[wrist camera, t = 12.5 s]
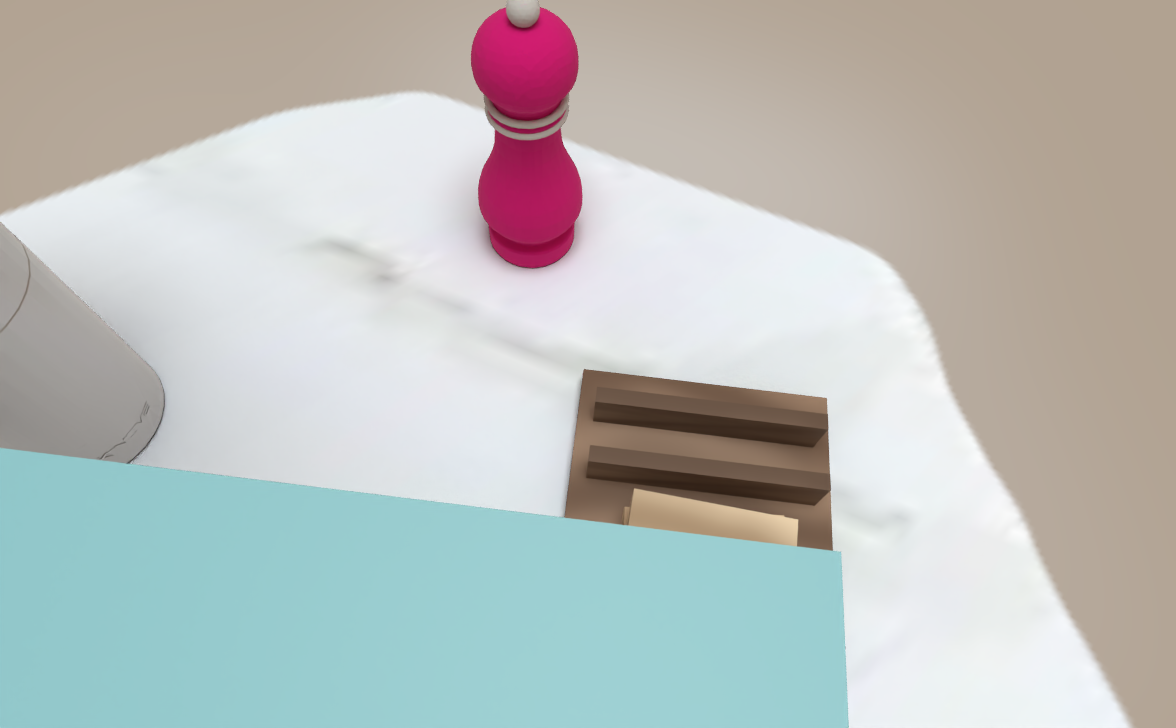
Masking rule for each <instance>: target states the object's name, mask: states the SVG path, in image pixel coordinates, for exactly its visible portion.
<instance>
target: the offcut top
mask: <svg viewBox="0 0 1176 728" xmlns="http://www.w3.org/2000/svg"><path fill="white" fill-rule="evenodd" d="M627 525H628V526H636V527H644V528H652V529H660V530H668V531H676V532H684V533H692V534H700V535H708V536H716V537H725V538H733V539H741V540H749V541H757V542H765V543H773V544H781V545H789V546H797V535H798V519H793V518H787V517H782V516H777V515H771V514H766V513H761V512H756V511H750V510H745V509H740V508H735V507H729V506H724V505H719V504H714V503H708V502H703V501H698V500H692V499H687V498H682V497H677V496H671V495H666V494H661V493H656V492H650V491H645V490H640V489H635V488H634V491H633V494H632V498H631V505H630V511H629V517H628V523H627Z"/></svg>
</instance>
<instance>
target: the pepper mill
mask: <svg viewBox="0 0 1176 728" xmlns="http://www.w3.org/2000/svg"><path fill="white" fill-rule="evenodd" d="M471 66H472V71H473V75H474V79H475V81H476V83H477V85H478V87H479V89H480V90H481V91H482V92H483V94H484V102H485V113H486V116H487V119H488V121H489V123H490V124H491V125H492V126H493V127H494V129H495V143H494V147H493V150H492V152H491V154H490V156H489V158H488V160H487V161H486V163H485V165H484V167H483V170H482V173H481V176H480V180H479V187H478V198H479V206H480V210H481V213H482V215H483V217H484V219H485V220H486V222H487V223H488V224H489V232H490V240H491V243H492V245H493V247H494V249H495V251H496V252H497V253H498V254H499V255H500V256H501V257H502V258H504V259H505V260H506V261H508V262H510V263H512V264H515V265H517V266H521V267H529V268H536V267H543V266H546V265H549V264H552V263H554V262H556V261H557V260H559V259H560V258H561V257H563V256H564V255H565V254H566V252H567V251H568V250H569V249H570V247H571V245H572V242H573V238H574V222H575V221H576V219H577V217H578V216H579V213H580V210H581V206H582V186H581V179H580V177H579V174H578V171H577V168H576V166H575V164H574V162H573V161H572V159H571V157H570V156H569V154H568V153H567V151H566V149H565V147H564V145H563V141H562V136H561V127H562V125H563V124H564V123H565V121H566V119H567V116H568V112H569V105H568V102H569V91H570V90H571V89H572V88H573V85H574V83H575V81H576V77H577V73H578V51H577V45H576V43H575V40H574V37H573V35H572V33H571V31H570V29H569V28H568V26H567V25H566V24H565V23H564V22H563V21H562V20H561V19H560V18H559V17H558V16H556V15H555V14H553V13H552V12H550V11H548V10H547V9H544V8H541V7H540V6H539V2H538V0H508V1H507V4H506V8H503V9H500V10H498V11H497V12H495V13H494V14H492V15H491V16H489V17H488V18H487V19H486V20H485V21H484V22H483V24H482V25H481V26H480V28H479V29H478V31H477V33H476V36H475V38H474V41H473V45H472V51H471Z"/></svg>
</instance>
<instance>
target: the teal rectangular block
mask: <svg viewBox="0 0 1176 728" xmlns="http://www.w3.org/2000/svg"><path fill="white" fill-rule="evenodd" d="M0 728H849V724H848V701H847V678H846V655H845V631H844V608H843V585H842V562H841V552H838V551H830V550H822V549H814V548H805V547H797V546H789V545H781V544H773V543H765V542H757V541H749V540H741V539H733V538H725V537H716V536H708V535H700V534H692V533H684V532H676V531H668V530H660V529H652V528H644V527H636V526H628V525H619V524H611V523H603V522H595V521H587V520H579V519H571V518H563V517H555V516H547V515H539V514H531V513H522V512H514V511H506V510H498V509H490V508H482V507H474V506H466V505H458V504H450V503H442V502H434V501H425V500H417V499H409V498H401V497H393V496H385V495H377V494H369V493H361V492H353V491H345V490H337V489H328V488H320V487H312V486H304V485H296V484H288V483H280V482H272V481H264V480H256V479H248V478H240V477H231V476H223V475H215V474H207V473H199V472H191V471H183V470H175V469H167V468H159V467H151V466H143V465H134V464H126V463H118V462H110V461H102V460H94V459H86V458H78V457H70V456H62V455H54V454H45V453H37V452H29V451H21V450H13V449H5V448H0Z"/></svg>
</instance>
